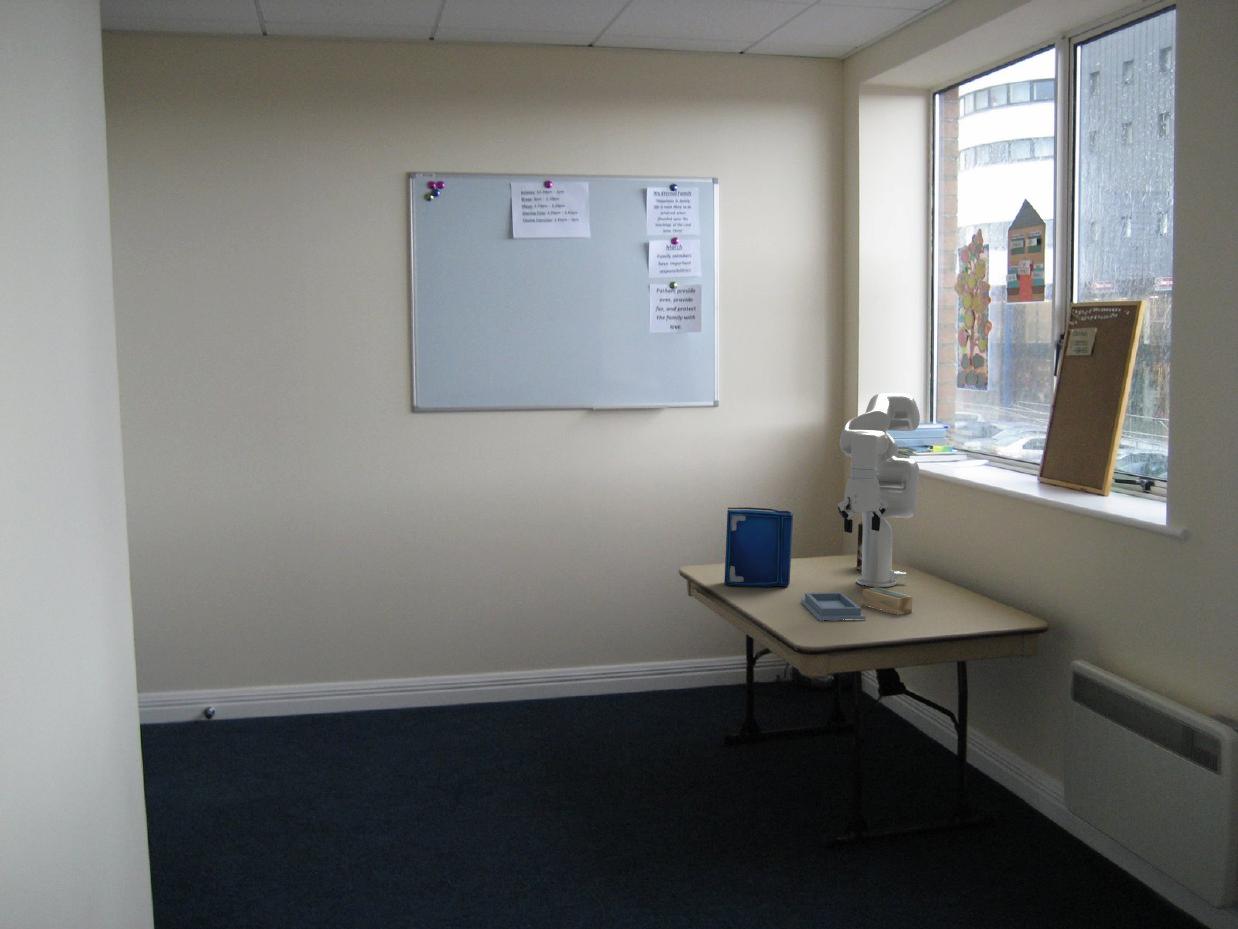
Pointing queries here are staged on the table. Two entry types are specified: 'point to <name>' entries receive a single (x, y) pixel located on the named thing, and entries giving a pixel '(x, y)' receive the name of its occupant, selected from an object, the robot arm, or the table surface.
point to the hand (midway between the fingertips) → (861, 531)
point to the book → (758, 547)
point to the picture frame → (887, 600)
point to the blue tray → (832, 606)
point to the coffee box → (859, 546)
